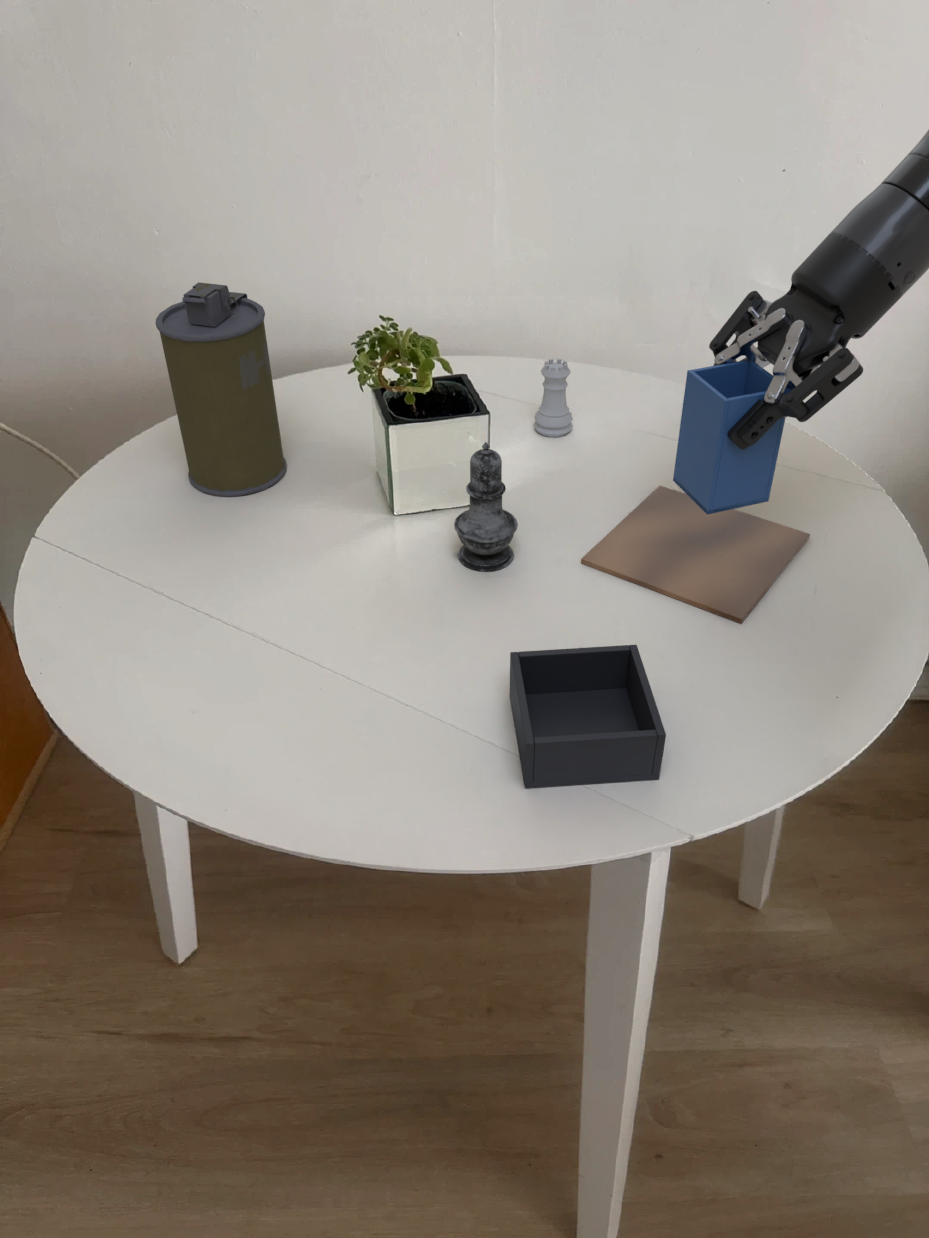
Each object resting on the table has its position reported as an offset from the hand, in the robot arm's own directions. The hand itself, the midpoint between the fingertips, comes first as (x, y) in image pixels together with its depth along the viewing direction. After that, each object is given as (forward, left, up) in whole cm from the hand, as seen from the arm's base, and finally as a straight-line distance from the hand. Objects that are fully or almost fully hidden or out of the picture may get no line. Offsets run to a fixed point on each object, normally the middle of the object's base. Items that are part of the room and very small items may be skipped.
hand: (713, 424), depth 82 cm
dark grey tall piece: (+17, +9, -15) cm, 24 cm away
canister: (+48, +11, -15) cm, 51 cm away
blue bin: (-1, -1, -7) cm, 7 cm away
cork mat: (+1, -3, -15) cm, 15 cm away
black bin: (-2, +24, -15) cm, 29 cm away
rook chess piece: (+25, -16, -15) cm, 34 cm away
